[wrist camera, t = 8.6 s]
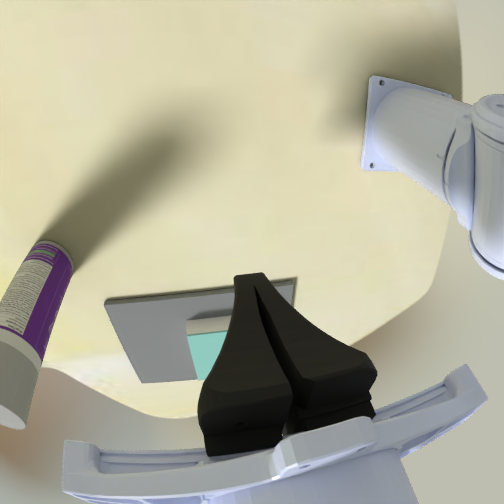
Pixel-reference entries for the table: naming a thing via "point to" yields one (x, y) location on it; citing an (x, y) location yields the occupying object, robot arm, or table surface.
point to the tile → (206, 342)
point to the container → (29, 326)
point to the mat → (169, 329)
